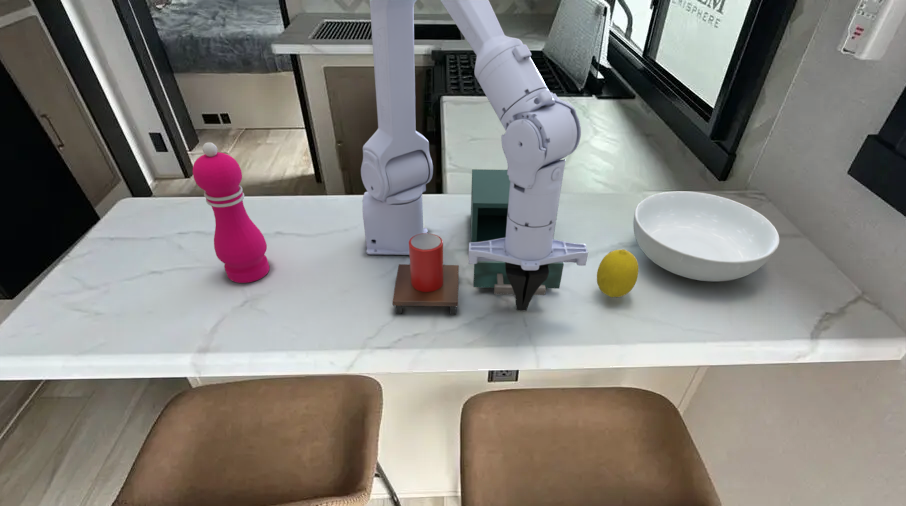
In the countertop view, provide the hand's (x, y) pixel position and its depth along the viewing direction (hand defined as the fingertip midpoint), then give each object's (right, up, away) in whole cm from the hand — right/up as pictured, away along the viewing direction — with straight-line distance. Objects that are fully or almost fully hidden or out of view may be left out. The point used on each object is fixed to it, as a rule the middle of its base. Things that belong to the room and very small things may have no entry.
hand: (520, 306), depth 69 cm
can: (-13, +4, +4) cm, 14 cm away
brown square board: (-13, +2, +6) cm, 14 cm away
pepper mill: (-41, +6, +10) cm, 43 cm away
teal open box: (0, +13, +19) cm, 23 cm away
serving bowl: (+29, +8, +14) cm, 33 cm away
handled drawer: (0, +6, +9) cm, 10 cm away
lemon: (+14, +2, +6) cm, 16 cm away
